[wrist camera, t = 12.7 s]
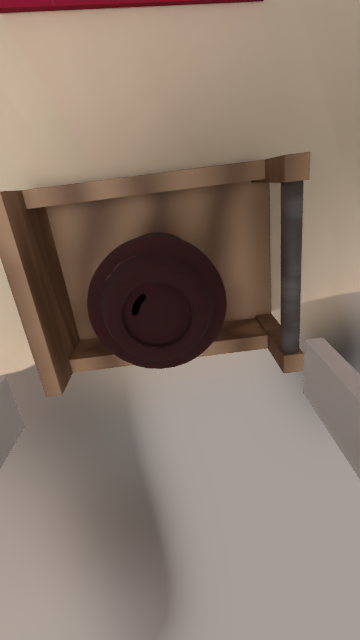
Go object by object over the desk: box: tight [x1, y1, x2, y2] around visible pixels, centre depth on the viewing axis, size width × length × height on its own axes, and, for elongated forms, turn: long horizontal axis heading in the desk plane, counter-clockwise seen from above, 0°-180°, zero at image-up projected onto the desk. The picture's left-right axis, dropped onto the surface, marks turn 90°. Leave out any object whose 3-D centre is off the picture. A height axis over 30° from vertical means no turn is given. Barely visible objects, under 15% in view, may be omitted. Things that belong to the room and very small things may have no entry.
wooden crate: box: [0, 152, 310, 397], centre depth 32 cm, size 24×18×11 cm
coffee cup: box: [87, 232, 227, 369], centre depth 29 cm, size 10×10×15 cm
